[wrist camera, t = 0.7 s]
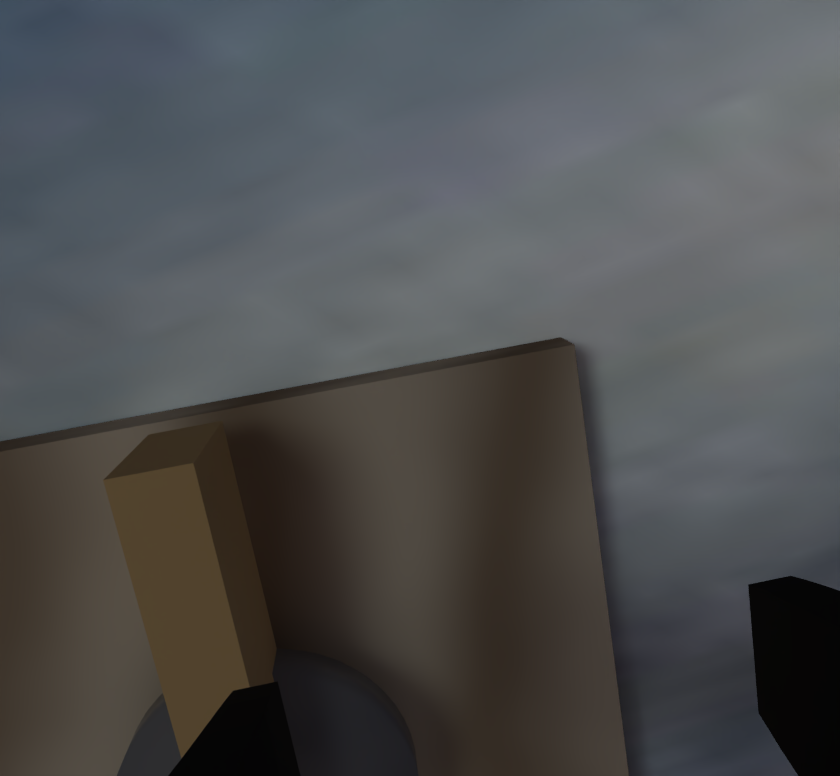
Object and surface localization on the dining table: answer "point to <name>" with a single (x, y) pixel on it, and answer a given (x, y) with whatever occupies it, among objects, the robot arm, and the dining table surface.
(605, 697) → the post board
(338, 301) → the dining table surface
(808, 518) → the dining table surface
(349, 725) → the lever with round base
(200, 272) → the dining table surface
